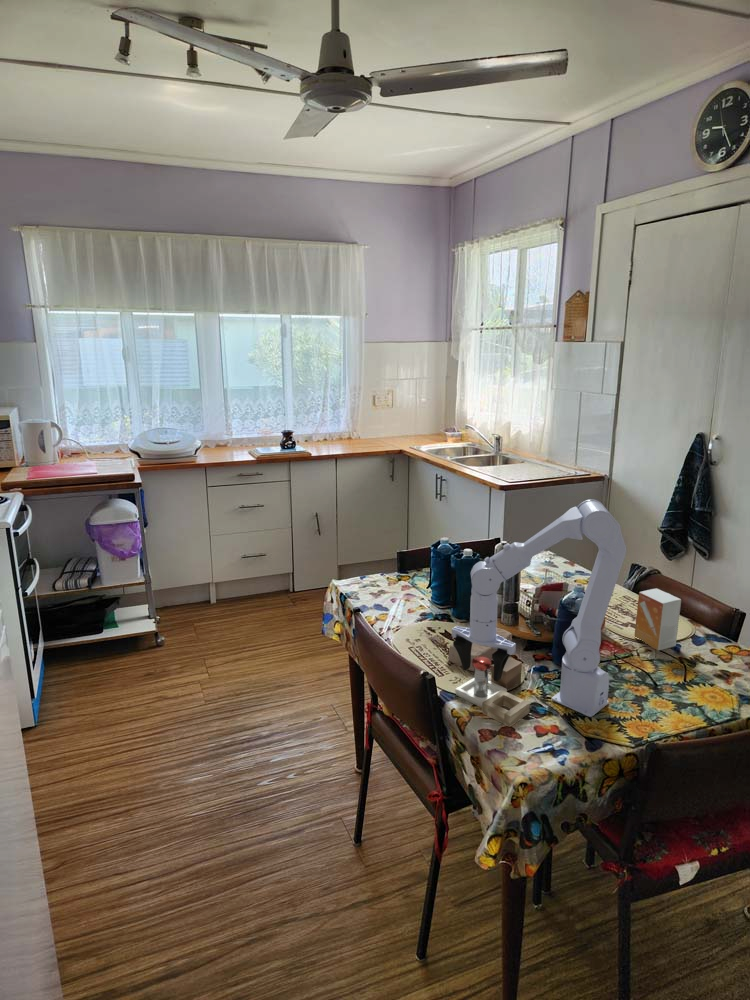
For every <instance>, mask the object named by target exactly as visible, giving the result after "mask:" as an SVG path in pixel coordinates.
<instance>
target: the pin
mask: <svg viewBox="0 0 750 1000" xmlns="http://www.w3.org/2000/svg"><path fill="white" fill-rule="evenodd" d="M472 665H473V667H474V668H475V670H474V673H473V674H474V675H473V676H474V677H473V678H474V695H475V696H477V697H480V698H483V697H486V696H487V695H488V680H489V671H490V670H489V669H490V668H492V660H490V659H489V658H486V657H476V658H474V659H473V664H472Z"/></svg>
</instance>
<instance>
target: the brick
mask: <svg viewBox="0 0 750 1000" xmlns="http://www.w3.org/2000/svg"><path fill="white" fill-rule="evenodd" d="M497 635H499V636H501V637H503V638H505V639H507V640H508V641H511V642H512V640H513V638H512V637H513V634H512V633H511V632H510V631H508V630H506V629H502V628H499V627H497ZM496 651H497V649H496V648H492V647H489V646H482V645H477V644H474V643H472V648H471V664H470V668H469V669H467V671H468V670H469V671H471V672H475V668H474V667H473V665H472V664H473V659H474V658H476V657H486V658H489V659H490V660H491V661H493V658H492V654H493V653H494V652H496ZM447 659H448V661H449V662H451V663H453V664H455V665H458V666H460V667H462V663H461V660H460V657H459V654H458V652H457V650H456V648H455V647H454V646H453V643H451V644H450V645H449V649H448V656H447Z"/></svg>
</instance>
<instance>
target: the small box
mask: <svg viewBox="0 0 750 1000" xmlns="http://www.w3.org/2000/svg"><path fill="white" fill-rule="evenodd" d="M681 604H682V599H681V598H679V597H677V596H674V595H673V594H671V593H669V592H666V591H664V590H661V589H660V588H650V589H647V590H643V591H639V592H638V599H637V608H636V618H635V627H634V636H635V637H637V638H639V639H641V640H643V641H644V642H645V643H644V642H643V643H644V644H646V645H647V644H648V645H647V646H649V647H651V648H653V649H654V650H656V651H658V652H659V651H662V650H665V649H670V648H674V647H676V645H677V638H678V630H679V622H680V621H679V620H680V612H681V607H682V605H681ZM635 637H634V638H635ZM637 638H636V639H637Z"/></svg>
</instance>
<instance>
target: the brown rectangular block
mask: <svg viewBox="0 0 750 1000" xmlns="http://www.w3.org/2000/svg"><path fill="white" fill-rule="evenodd" d="M522 665H523V663H522V661H519V660H517V659H515V658H512V657H510V656H509V658H508V660H507V662H506V664H505V666H504V669H503V672H502V676H501V679H500V680H498V681H497V682H496V681H494V663H493V664H491V670H490V671H491V672H490V674H491V675H490V681H491V682H493V683H495V684H497V685H499V686H502V687H504V688H506V689H507V691H509V690H510V689H512V688H513V687H515V686H517V685H518V684H520V683H521V682H522V669H523V668H522V667H523V666H522Z"/></svg>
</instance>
